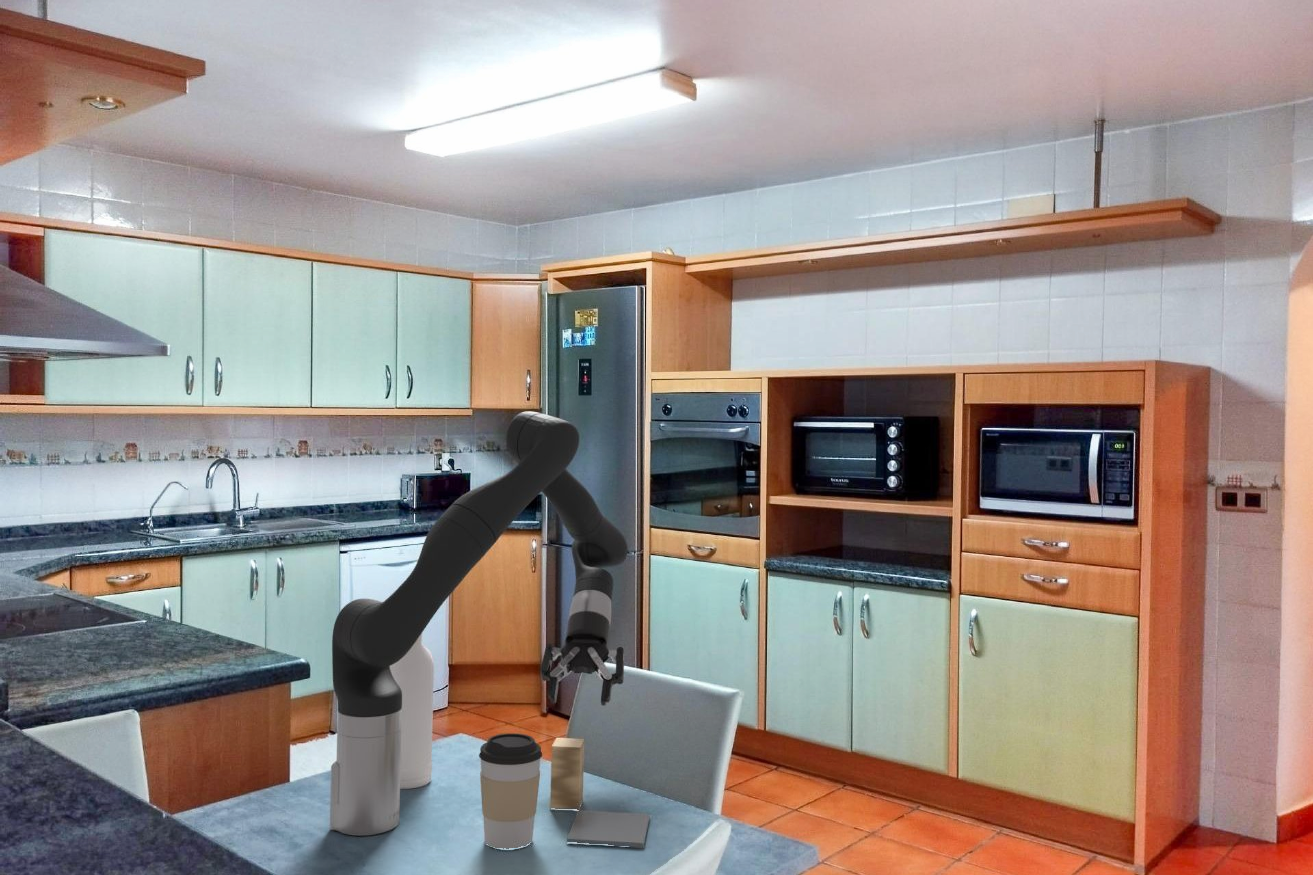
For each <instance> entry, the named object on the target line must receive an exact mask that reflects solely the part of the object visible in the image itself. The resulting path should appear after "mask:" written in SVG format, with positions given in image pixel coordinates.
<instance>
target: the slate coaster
mask: <svg viewBox="0 0 1313 875" xmlns="http://www.w3.org/2000/svg"><path fill="white" fill-rule="evenodd" d="M649 824H650V814H649V813H632V812H631V813H630V812H616V811H615V812H613V811H599V810H597V811H596V810H595V811H594V810H581V809H579V811H577V813H576V816H575V819H574V820H573V824H572V826H571V828H570V830H569V833H568V836H567V838H566V840H567V841H566V843H567V842H577V843H589V844H608V845H614V846H629V847H636V848H635V849H644V847H645V842H646V838H647V837H646V836H647V834H648V828H649Z"/></svg>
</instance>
